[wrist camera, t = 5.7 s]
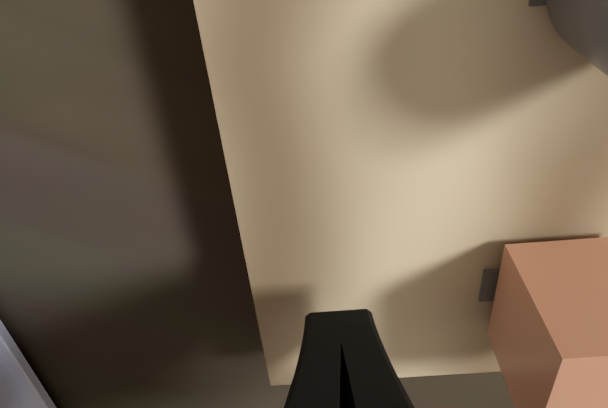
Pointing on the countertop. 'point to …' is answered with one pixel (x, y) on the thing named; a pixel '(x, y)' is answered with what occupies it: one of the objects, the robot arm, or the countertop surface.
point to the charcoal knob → (583, 27)
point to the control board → (400, 162)
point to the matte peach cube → (553, 323)
